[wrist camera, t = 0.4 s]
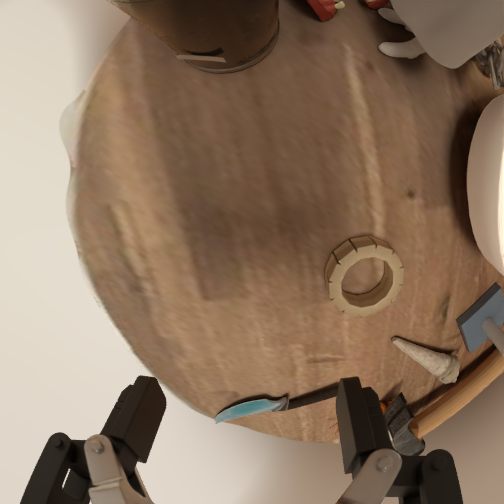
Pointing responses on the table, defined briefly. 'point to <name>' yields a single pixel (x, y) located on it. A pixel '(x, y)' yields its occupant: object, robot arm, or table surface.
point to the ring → (377, 296)
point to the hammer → (437, 407)
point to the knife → (272, 405)
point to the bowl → (488, 183)
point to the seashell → (431, 360)
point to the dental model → (337, 6)
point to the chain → (493, 63)
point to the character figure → (445, 28)
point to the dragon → (382, 410)
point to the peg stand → (484, 321)
